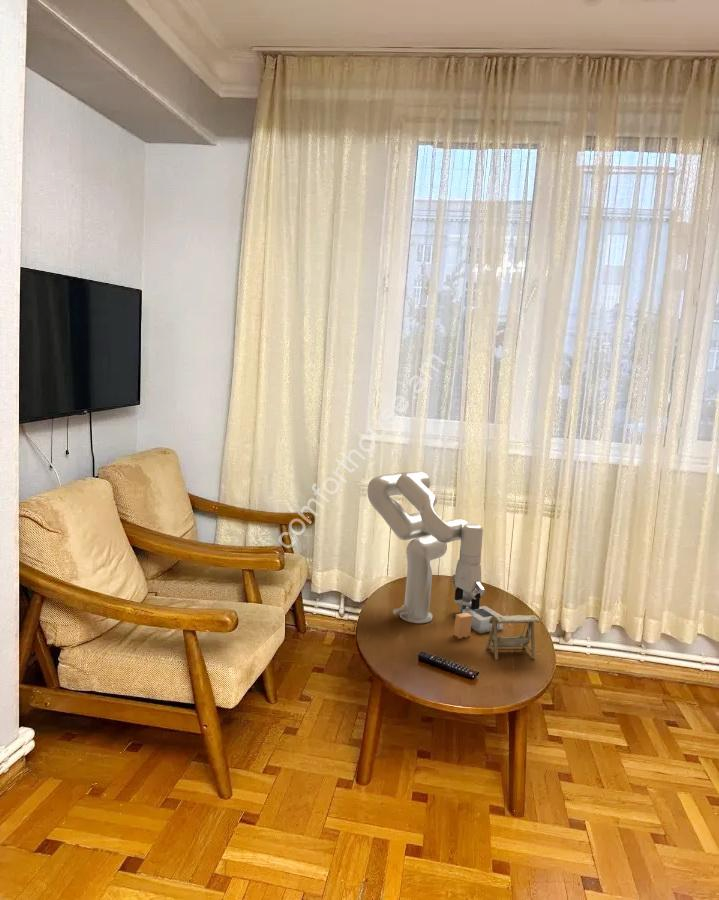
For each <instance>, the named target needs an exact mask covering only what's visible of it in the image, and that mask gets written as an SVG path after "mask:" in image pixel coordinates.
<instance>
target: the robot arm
mask: <svg viewBox="0 0 719 900" xmlns="http://www.w3.org/2000/svg"><path fill="white" fill-rule="evenodd" d="M367 484H368V485H367V493H366V494H367V497H368V498H367V499H368V501H369V503H370V504H371V506H372V507H373V509H374V510H376V512H377V513H378V515H380V516H381V517H382V519H383V520H384V521H385V523H386V524H387V525H388V527H389V528H390V529H391V531H392V532H393V533H394V534H395V536H396V537H397V538H398V539H399V540H401V541H409V542H408V544H407V546H406V551H405V552H406V561H407V562H406V563H407V564H406V565H407V566H406V567H407V568H406V570H407V571H406V583H405V594H404V603H403V604H402V605H401V607H399V608H393V610H392V613H393V615H399V617H400V618H401V619H402V620H404V621H406V622H408V623H413V624H427V623H430V622H431V621H432V620H433V614H432V612H430V604H431V594H432V593H431V591H432V579H433V570H432V566H431V561H433V560H435V559H439V558H441V557H443V556H444V555H445V554H446V553H447V550H448V544H447V543H452V542H455V541H458V540H459V541H460V545H459V546H460V547H459V558H458V560H457V563H456V568H455V572H454V574H453V575H452V579H453V585H454V587H453V588H454V598H455V600H462V599H463V590H464V591H466V592H468V593H471V594H472V596H473V599H472V602H471V609H472V610H475V609H479V607H480V605H481V599H482V598H483V596H484V593H485V589H486V588H484V586H483V585H482V566H481V562H482V561H481V560H482V547H483V546H482V545H483V536H484V535H483V534H484V529H483V527H482V525H481V524H477V523H473V522H469V521H467V520H465V519H462V518H453V519H449V520H446V521H444V520H443V519H442V518H441V517H440V516H438V513H436V512H435V510H434V508H435V505H436V504H437V501H438V498H437V495H436V494H435V493H433V491H432V490H431V489H430V487H431V480H430V477H429V475H428V474H426V473H425V472H424V471H419V470H417V471H406V472H396V473H388V474H382V475H378V476H375V477H373V478H372V479H371V480H370V481H369V483H367ZM396 495H403V497H404V498H406V500H407V501H408V502H409V503H410V504H411V505H412V506H413V507H414V508H415V509H417V510H418V512H414V513H408V512H407V511H406V510H405V509H404V508H403V506H402V505H401V504H400V503H399V502H397V501H396V500H395V499H393V498H392V497H391V496H396ZM479 604H480V605H479Z"/></svg>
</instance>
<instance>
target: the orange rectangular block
mask: <svg viewBox="0 0 719 900" xmlns="http://www.w3.org/2000/svg"><path fill="white" fill-rule="evenodd" d="M471 621H472V615H470V614H468V613H462V614H460V613H457V614H455V620H454V629H453V636H454V635H455V636H454V637H456V636H457V637H458V638H457V637H456V638H457V639H459V638H460V639H463V638H462V637H465V638H469V637H468V636H470V637H471V630H472V628H471Z"/></svg>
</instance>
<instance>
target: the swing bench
mask: <svg viewBox="0 0 719 900" xmlns="http://www.w3.org/2000/svg"><path fill="white" fill-rule="evenodd" d="M540 622H541V621H540V619H539V618H538V616H536V615H534V614H530V615H522V614H519V615H518V614H517V615H516V614H515V615H502V616H492V617H491V618H490V620H489V623H492V627H491V631H490V632H489V636H488V639H487V643H486V647H485V648H486V649H487V650H489V649H490V650H491V652H492V653H493V654H494V660H495V661H498V660H499V648H522V649H526V648H527V650H528V651H529V652H530V655H531V656H530V657H531V659H532V660H534V659H535V657H536V656H535V655H536V651H535V650H536V649H535V646H536V645H535V623H537V624H538V623H540ZM497 623H498V627H499V624H502V623H503V624H525V625H524V627H523V631H522V634H519V636H512V637H509V636H506V637H503V636H500V634H501V633H500V630H497ZM526 626H527V628H526ZM498 629H499V628H498ZM525 629H526V632H525ZM524 632H525V636H524ZM491 643H492V644H491ZM530 643H531V647H530V645H529V644H530Z"/></svg>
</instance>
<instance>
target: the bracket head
mask: <svg viewBox="0 0 719 900" xmlns="http://www.w3.org/2000/svg"><path fill="white" fill-rule="evenodd" d="M472 599H473V596H472V594H471V593H468V592H466V591H464V590H463V599H462V600H455V597H454V599H453V600H454V603H456V604H457V605H459V606H460V607H459V614H462V613H468V614H470V615H472V621H471V630H473V631H474V632H476V633H478V634H483V633H490V631H491V627H492V623H489V620H490V618H491V617H492V616H503V615H502V614H500V613H498V612H497V611H495V610H493V609H492V608H490V607H488V606H487V605H481V603H480V604H479V609H475V610H472V609H471V602H472ZM480 605H481V606H480ZM498 628H499V629H498ZM503 629H504V623H502V624H499V627H498V623H497V631H500V630H503Z"/></svg>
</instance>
